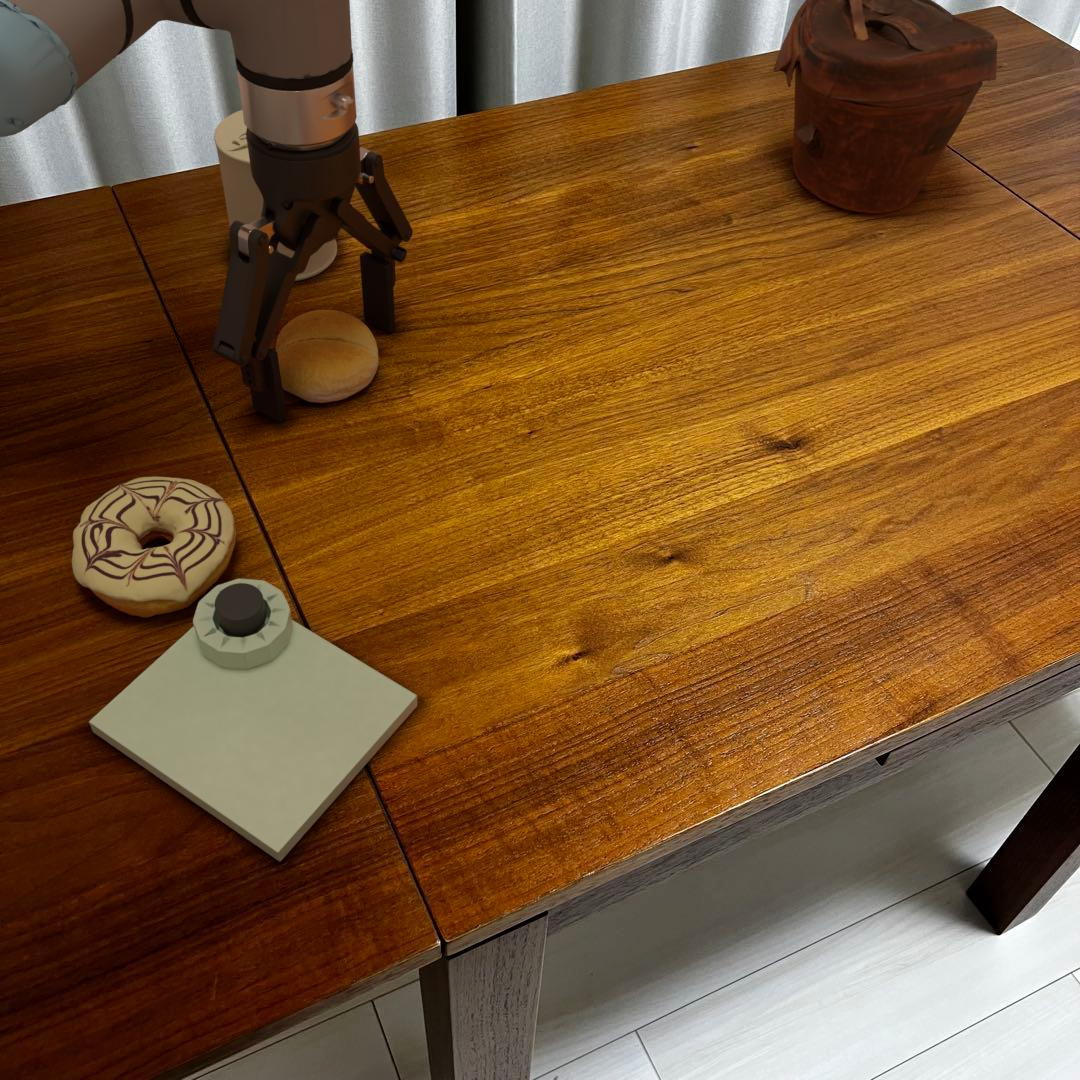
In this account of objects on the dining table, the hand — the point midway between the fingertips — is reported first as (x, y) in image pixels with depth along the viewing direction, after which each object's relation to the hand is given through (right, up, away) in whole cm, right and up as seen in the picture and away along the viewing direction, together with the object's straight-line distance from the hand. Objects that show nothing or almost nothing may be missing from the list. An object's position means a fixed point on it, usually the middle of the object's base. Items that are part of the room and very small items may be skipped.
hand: (327, 367), depth 96 cm
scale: (0, -25, -22) cm, 33 cm away
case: (+49, +22, +24) cm, 59 cm away
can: (-6, +12, +10) cm, 17 cm away
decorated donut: (-9, -16, -14) cm, 23 cm away
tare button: (-2, -19, -20) cm, 28 cm away
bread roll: (0, 0, 0) cm, 0 cm away
